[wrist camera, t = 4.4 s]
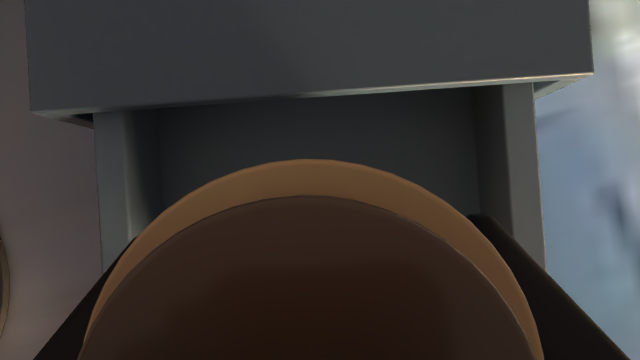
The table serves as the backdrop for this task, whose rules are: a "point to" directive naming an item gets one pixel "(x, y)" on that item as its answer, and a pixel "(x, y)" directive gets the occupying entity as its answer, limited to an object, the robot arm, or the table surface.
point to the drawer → (329, 151)
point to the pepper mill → (311, 275)
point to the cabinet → (291, 50)
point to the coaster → (3, 286)
